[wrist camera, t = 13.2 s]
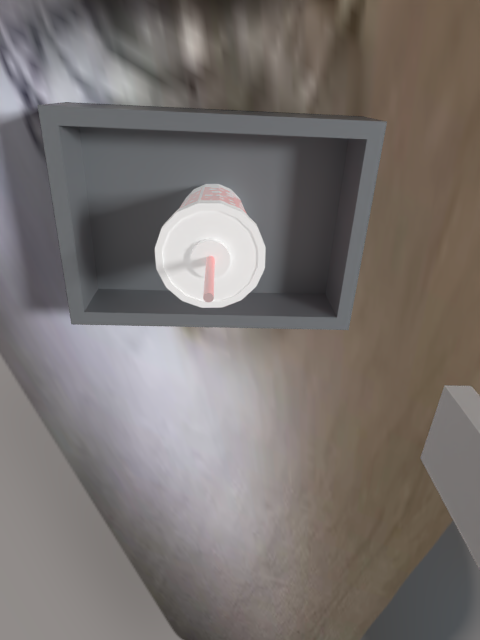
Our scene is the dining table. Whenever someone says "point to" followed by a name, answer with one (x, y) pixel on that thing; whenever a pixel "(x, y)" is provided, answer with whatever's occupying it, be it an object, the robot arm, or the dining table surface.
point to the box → (192, 172)
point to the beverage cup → (210, 249)
